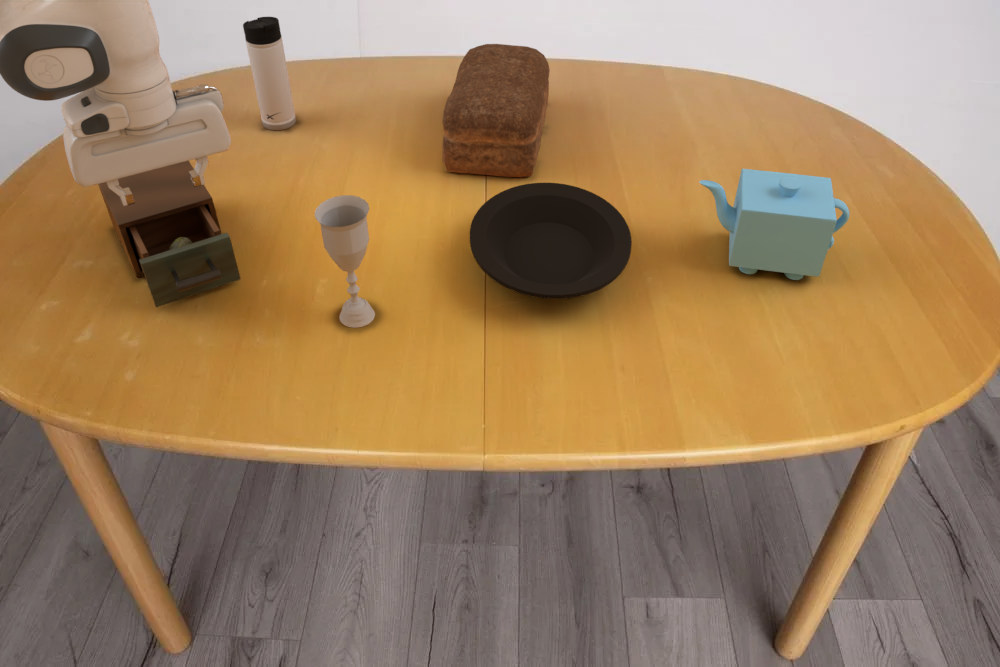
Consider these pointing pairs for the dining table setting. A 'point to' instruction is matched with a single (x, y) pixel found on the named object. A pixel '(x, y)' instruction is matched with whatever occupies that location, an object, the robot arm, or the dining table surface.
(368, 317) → the chalice
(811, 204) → the teapot
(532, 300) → the dining table surface
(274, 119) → the travel mug
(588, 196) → the plate
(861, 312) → the dining table surface
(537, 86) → the bread
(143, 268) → the drawer
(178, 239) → the lime
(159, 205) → the cabinet
